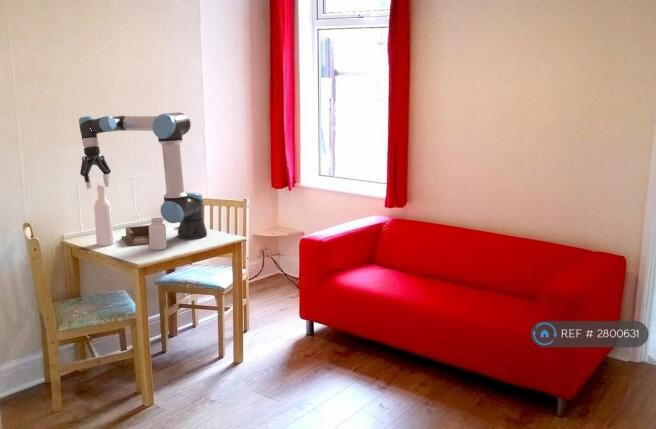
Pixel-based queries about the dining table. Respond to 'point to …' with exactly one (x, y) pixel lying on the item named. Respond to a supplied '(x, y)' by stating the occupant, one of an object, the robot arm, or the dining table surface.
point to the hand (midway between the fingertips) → (98, 187)
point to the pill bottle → (157, 234)
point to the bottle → (103, 219)
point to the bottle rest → (136, 235)
